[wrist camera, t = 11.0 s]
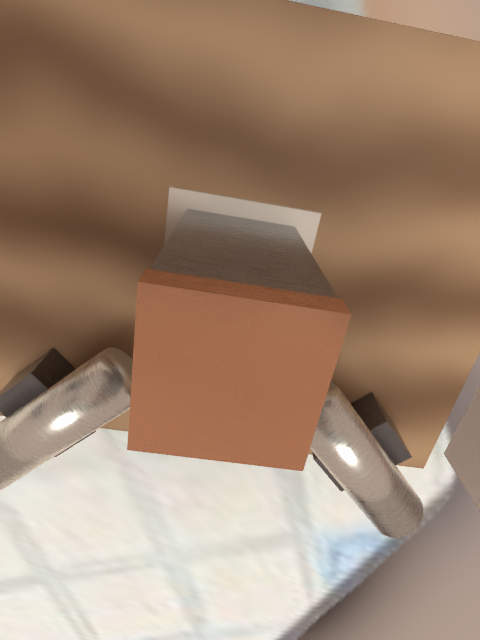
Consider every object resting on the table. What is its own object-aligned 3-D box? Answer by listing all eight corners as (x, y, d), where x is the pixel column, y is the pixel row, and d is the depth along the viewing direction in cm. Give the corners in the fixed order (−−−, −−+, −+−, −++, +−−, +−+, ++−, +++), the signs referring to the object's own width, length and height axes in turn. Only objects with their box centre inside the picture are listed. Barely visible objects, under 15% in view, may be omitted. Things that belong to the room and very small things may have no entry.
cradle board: (-77, -65, 16) (-113, -88, 14) (587, 75, 18) (622, 69, 16) (-18, 395, 25) (-36, 414, 23) (413, 451, 27) (425, 472, 25)
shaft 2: (264, 375, 22) (272, 443, 18) (332, 335, 21) (361, 395, 17) (343, 472, 26) (367, 552, 21) (406, 441, 25) (447, 517, 20)
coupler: (187, 207, 18) (137, 281, 9) (296, 225, 19) (351, 314, 10) (176, 308, 20) (127, 449, 11) (274, 323, 21) (302, 470, 12)
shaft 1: (114, 302, 21) (76, 355, 16) (169, 362, 22) (150, 428, 17) (-3, 387, 23) (-68, 457, 18) (55, 436, 24) (9, 513, 19)
